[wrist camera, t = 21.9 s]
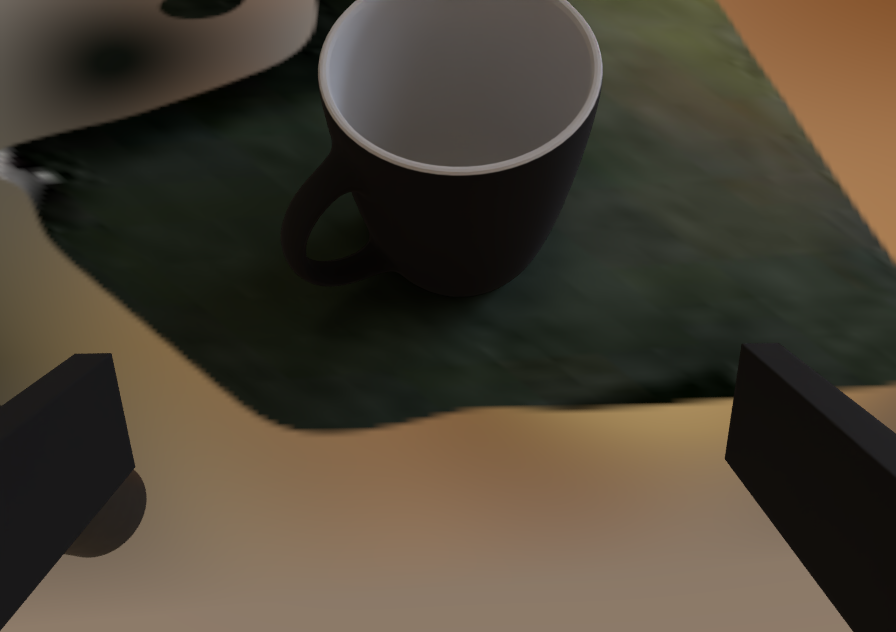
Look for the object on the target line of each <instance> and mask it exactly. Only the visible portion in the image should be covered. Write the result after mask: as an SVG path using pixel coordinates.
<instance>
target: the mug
mask: <svg viewBox="0 0 896 632" xmlns="http://www.w3.org/2000/svg"><path fill="white" fill-rule="evenodd" d="M602 76H603V65H602V57H601V52H600V49H599V45H598V43H597V40H596V38H595V35H594V34H593V32H592V30H591V28H590V26H589V25H588V24H587V22H586V21H585V19H584V18H583V17H582V16H581V15H580V13H579V12H578V11H577V10H576V9H575V8H574V7H573V6H572V5H571V4H570V3H569V2H568V1H566V0H356V1H355V2H354V3H353V4H352V5H351V6H350V7H348V8H347V9H346V10H345V11H344V13H343V14H342V15H341V16H340V17H339V18H338V19H337V21H336V22H335V24H334V25H333V26H332V28H331V29H330V31H329V33H328V35H327V37H326V39H325V41H324V44H323V46H322V50H321V53H320V57H319V65H318V84H319V91H320V97H321V101H322V106H323V110H324V114H325V117H326V121H327V125H328V128H329V132H330V135H331V138H332V149H331V152H330V153H329V155H328V157H327V158H326V159H325V160H324V162H323V163H322V164H321V165H320V166H319V167H318V168H317V169H316V170H315V172H314V173H313V174H312V175H311V176H310V177H309V178H308V179H307V181H306V182H305V183H304V184H303V185H302V187H301V188H300V189H299V190H298V192H297V193H296V195H295V196H294V198H293V199H292V201H291V203H290V205H289V207H288V209H287V211H286V214H285V217H284V220H283V223H282V228H281V245H282V250H283V254H284V256H285V258H286V261H287V262H288V264H289V266H290V267H291V268H292V270H293V271H294V272H295V273H296V274H297V275H298V276H300V277H301V278H302V279H304V280H306V281H308V282H310V283H312V284H315V285H320V286H341V285H347V284H351V283H354V282H357V281H360V280H363V279H366V278H369V277H371V276H374V275H377V274H380V273H384V272H397V273H399V274H401V275H402V276H403V277H405V278H406V279H408V280H409V281H410V282H412V283H414V284H415V285H417V286H419V287H421V288H423V289H425V290H427V291H430V292H433V293H436V294H440V295H445V296H452V297H467V296H475V295H480V294H484V293H487V292H490V291H492V290H495V289H497V288H499V287H501V286H503V285H505V284H506V283H508V282H509V281H511V280H512V279H514V278H515V277H516V276H517V275H519V274H520V273H521V272H522V271H523V270H524V269H525V268H526V267H527V266H528V264H529V263H530V262H531V261H532V260H533V258H534V257H535V255H536V254H537V253H538V251H539V250H540V248H541V247H542V245H543V243H544V242H545V240H546V238H547V236H548V235H549V233H550V231H551V229H552V227H553V225H554V223H555V221H556V219H557V217H558V215H559V213H560V211H561V209H562V206H563V204H564V202H565V199H566V197H567V195H568V192H569V190H570V187H571V185H572V182H573V180H574V177H575V175H576V172H577V170H578V167H579V164H580V161H581V159H582V156H583V153H584V150H585V147H586V144H587V141H588V138H589V135H590V132H591V128H592V125H593V121H594V118H595V114H596V110H597V107H598V102H599V98H600V93H601V86H602ZM347 192H352V194H353V197H354V199H355V202H356V204H357V206H358V209H359V211H360V213H361V215H362V217H363V219H364V222H365V224H366V226H367V228H368V231H369V241H368V242H367V244H366V245H365V246H364V247H363V248H362V249H361V250H359V251H358V252H356V253H354V254H352V255H350V256H347V257H344V258H341V259H336V260H331V261H315V260H312V259H309V258H307V257H306V244H307V240H308V238H309V235H310V232H311V230H312V228H313V227H314V225H315V223H316V222H317V220H318V219H319V217H320V216H321V215H322V213H323V212H324V211H325V210H326V209H327V208H328V207H329V206H330V205H331V203H332V202H333V201H335V200H336V199H337V198H338V197H340V196H341V195H343V194H345V193H347Z"/></svg>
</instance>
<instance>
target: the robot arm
mask: <svg viewBox="0 0 896 632" xmlns="http://www.w3.org/2000/svg"><path fill="white" fill-rule="evenodd" d="M725 460H726V461H727V462H728V464H729V465H730V467H731V468H732V469H733V471H734V472H735V473H736V475H737V476H738V477H739V479H740V480H741V481H742V482H743V484H744V485H745V487H746V488H747V490H748V491H749V492H750V493H751V495H752V496H753V497H754V499H755V500H756V502H757V503H758V504H759V506H760V507H761V508H762V510H763V511H764V512H765V514H766V515H767V516H768V518H769V519H770V520H771V522H772V523H773V524H774V526H775V527H776V529H777V530H778V531H779V533H780V534H781V535H782V537H783V538H784V539H785V541H786V542H787V543H788V544H789V546H790V547H791V549H792V550H793V551H794V553H795V554H796V555H797V557H798V558H799V559H800V561H801V562H802V563H803V565H804V566H805V567H806V569H807V570H808V572H809V573H810V574H811V576H812V577H813V578H814V580H815V581H816V582H817V584H818V585H819V586H820V588H821V589H822V590H823V592H824V593H825V594H826V596H827V597H828V598H829V600H830V601H831V602H832V604H833V605H834V606H835V608H836V609H837V610H838V612H839V613H840V614H841V616H842V617H843V619H844V620H845V621H846V622H847V624H848V625H849V627H850V628H851V629H852V631H853V632H896V434H895V433H894V432H893V431H892V430H890V429H889V428H888V427H886V426H885V425H884V424H883V423H881V422H880V421H879V420H877V419H876V418H875V417H874V416H872V415H871V414H870V413H868V412H867V411H866V410H865V409H863V408H862V407H861V406H859V405H858V404H857V403H855V402H854V401H853V400H852V399H850V398H849V397H848V396H846V395H845V394H844V393H843V392H841V391H840V390H839V389H837V388H836V387H835V386H834V385H832V384H831V383H830V382H828V381H827V380H826V379H824V378H823V377H822V376H821V375H819V374H818V373H817V372H815V371H814V370H813V369H812V368H810V367H809V366H808V365H806V364H805V363H804V362H803V361H801V360H800V359H799V358H797V357H796V356H795V355H793V354H792V353H791V352H790V351H788V350H787V349H786V348H784V347H783V346H782V345H781V344H779V343H754V344H742V345H741V352H740V359H739V366H738V372H737V379H736V386H735V393H734V399H733V406H732V413H731V420H730V427H729V433H728V440H727V447H726V454H725ZM134 468H135V464H134V459H133V454H132V449H131V445H130V440H129V435H128V431H127V425H126V421H125V416H124V411H123V407H122V402H121V397H120V392H119V387H118V382H117V378H116V373H115V368H114V363H113V359H112V354H111V353H100V354H99V353H97V354H74V355H73V356H71V357H70V358H68V359H67V360H66V361H64V362H63V363H61V364H60V365H58V366H57V367H56V368H54V369H53V370H51V371H50V372H49V373H47V374H46V375H44V376H43V377H42V378H40V379H39V380H38V381H36V382H35V383H33V384H32V385H30V386H29V387H28V388H26V389H25V390H24V391H22V392H21V393H19V394H18V395H16V396H15V397H14V398H12V399H11V400H9V401H8V402H7V403H5V404H4V405H2V406H1V407H0V630H1V629H2V628H3V627H4V626H5V624H6V623H7V622H8V621H9V619H10V618H11V617H12V616H13V615H14V613H15V612H16V611H17V610H18V609H19V607H20V606H21V605H22V604H23V603H24V601H25V600H26V599H27V597H28V596H29V595H30V594H31V593H32V591H33V590H34V589H35V588H36V587H37V585H38V584H39V583H40V582H41V581H42V580H43V578H44V577H45V576H46V575H47V573H48V572H49V571H50V570H51V569H52V567H53V566H54V565H55V564H56V563H57V561H58V560H59V559H60V558H61V556H62V555H63V554H64V553H65V552H66V550H67V549H68V548H69V547H70V546H71V544H72V543H73V542H74V541H75V540H76V538H77V537H78V536H79V535H80V534H81V532H82V531H83V530H84V529H85V527H86V526H87V525H88V524H89V523H90V521H91V520H92V519H93V518H94V517H95V515H96V514H97V513H98V512H99V510H100V509H101V508H102V507H103V506H104V504H105V503H106V502H107V501H108V500H109V498H110V497H111V496H112V495H113V494H114V492H115V491H116V490H117V489H118V487H119V486H120V485H121V484H122V483H123V481H124V480H125V479H126V478H127V477H128V475H129V474H130V473H131V472H132V471H133V469H134Z"/></svg>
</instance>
